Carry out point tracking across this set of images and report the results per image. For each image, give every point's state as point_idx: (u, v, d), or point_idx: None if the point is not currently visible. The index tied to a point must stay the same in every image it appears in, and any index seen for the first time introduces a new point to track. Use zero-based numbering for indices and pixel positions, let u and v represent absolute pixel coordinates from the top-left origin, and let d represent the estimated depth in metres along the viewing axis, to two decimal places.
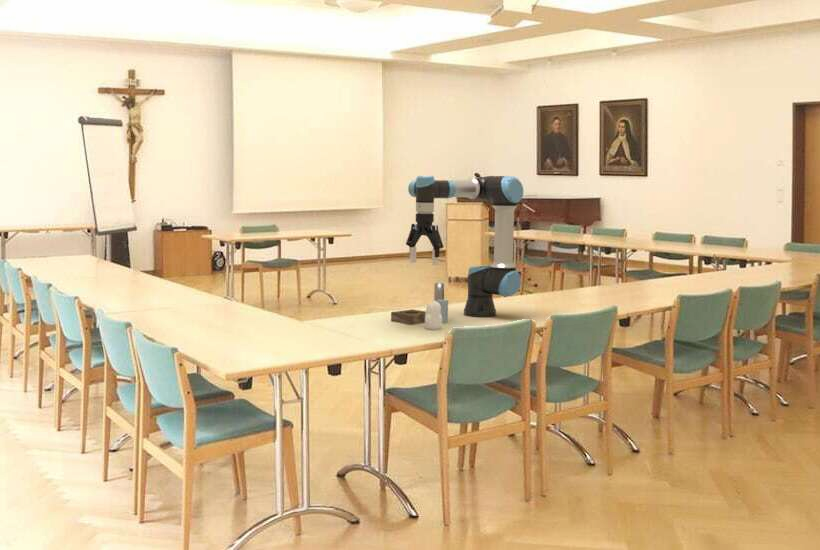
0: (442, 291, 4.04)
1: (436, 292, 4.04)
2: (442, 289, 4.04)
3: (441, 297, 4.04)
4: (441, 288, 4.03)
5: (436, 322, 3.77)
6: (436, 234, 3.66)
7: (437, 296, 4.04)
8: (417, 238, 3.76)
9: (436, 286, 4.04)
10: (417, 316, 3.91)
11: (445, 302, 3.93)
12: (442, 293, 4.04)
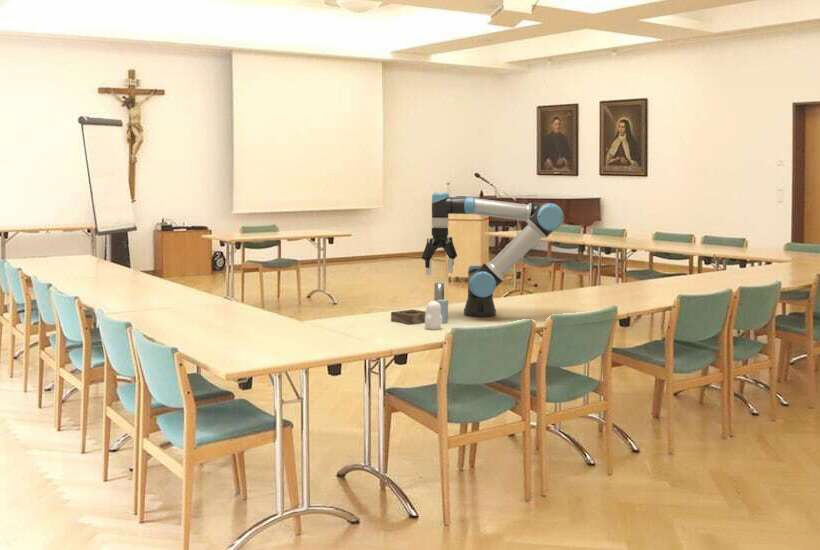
0: (442, 291, 4.04)
1: (436, 292, 4.04)
2: (442, 289, 4.04)
3: (441, 297, 4.04)
4: (441, 288, 4.03)
5: (436, 322, 3.77)
6: (426, 246, 3.98)
7: (437, 296, 4.04)
8: (446, 251, 4.06)
9: (436, 286, 4.04)
10: (417, 316, 3.91)
11: (445, 302, 3.93)
12: (442, 293, 4.04)
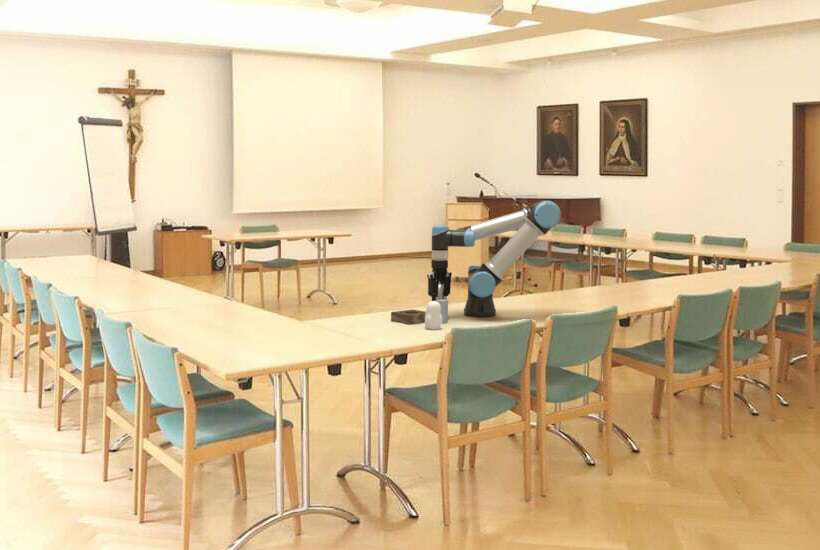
0: (442, 291, 4.04)
1: None
2: (442, 289, 4.04)
3: (441, 297, 4.04)
4: (441, 288, 4.03)
5: (436, 322, 3.77)
6: (429, 283, 4.01)
7: (437, 296, 4.04)
8: None
9: None
10: (417, 316, 3.91)
11: (445, 302, 3.93)
12: (442, 293, 4.04)
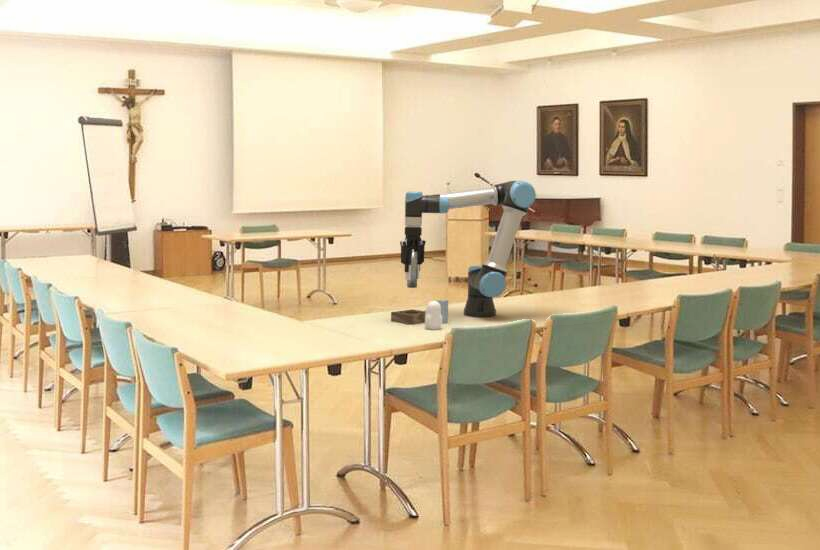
0: (415, 259, 3.94)
1: None
2: (415, 257, 3.94)
3: (414, 265, 3.94)
4: (414, 256, 3.93)
5: (436, 322, 3.77)
6: (402, 250, 3.91)
7: (410, 264, 3.94)
8: None
9: None
10: (417, 316, 3.91)
11: (445, 302, 3.93)
12: (415, 261, 3.94)
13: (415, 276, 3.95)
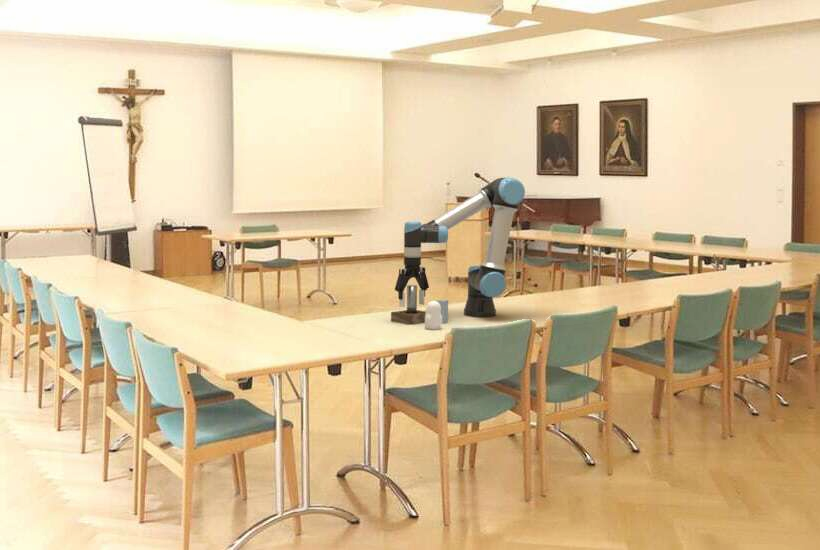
0: (415, 293, 3.95)
1: (408, 294, 3.95)
2: (415, 291, 3.95)
3: (414, 299, 3.95)
4: (413, 290, 3.95)
5: (436, 322, 3.77)
6: (398, 277, 3.91)
7: (409, 298, 3.95)
8: (418, 281, 3.99)
9: (408, 288, 3.95)
10: (417, 316, 3.91)
11: (445, 302, 3.93)
12: (415, 295, 3.95)
13: (415, 310, 3.96)
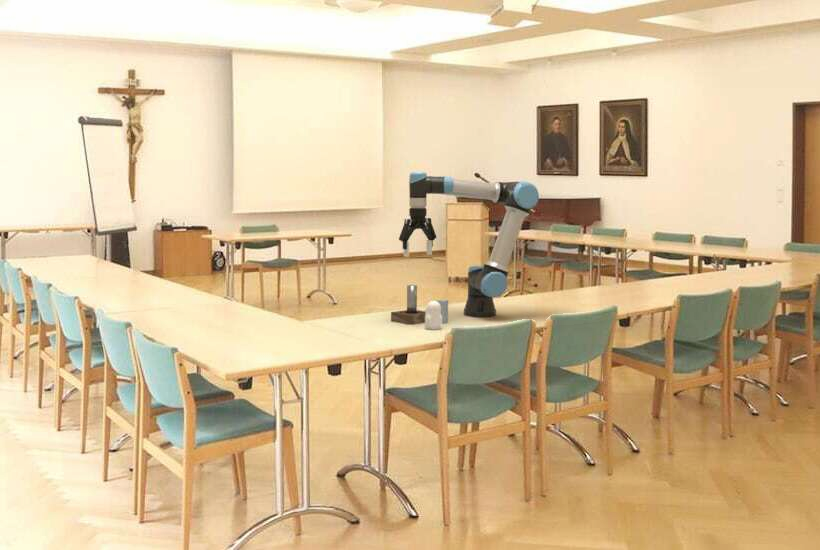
0: (415, 293, 3.95)
1: (408, 294, 3.95)
2: (415, 291, 3.95)
3: (414, 299, 3.95)
4: (414, 290, 3.95)
5: (436, 322, 3.77)
6: (403, 227, 3.88)
7: (409, 298, 3.95)
8: (425, 232, 3.96)
9: (408, 288, 3.95)
10: (417, 316, 3.91)
11: (445, 302, 3.93)
12: (415, 295, 3.95)
13: (415, 310, 3.96)
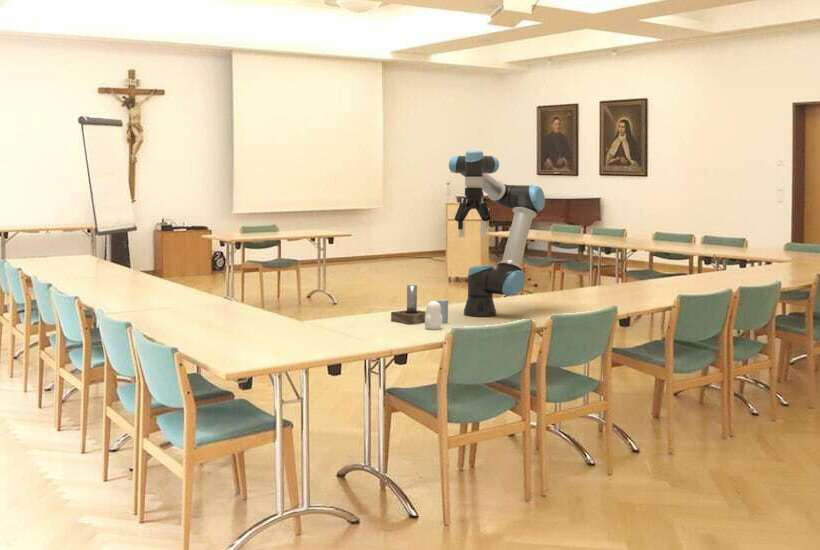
0: (415, 293, 3.95)
1: (408, 294, 3.95)
2: (415, 291, 3.95)
3: (414, 299, 3.95)
4: (414, 290, 3.95)
5: (436, 322, 3.77)
6: (459, 207, 3.79)
7: (409, 298, 3.95)
8: (480, 212, 3.87)
9: (408, 288, 3.95)
10: (417, 316, 3.91)
11: (445, 302, 3.93)
12: (415, 295, 3.95)
13: (415, 310, 3.96)
